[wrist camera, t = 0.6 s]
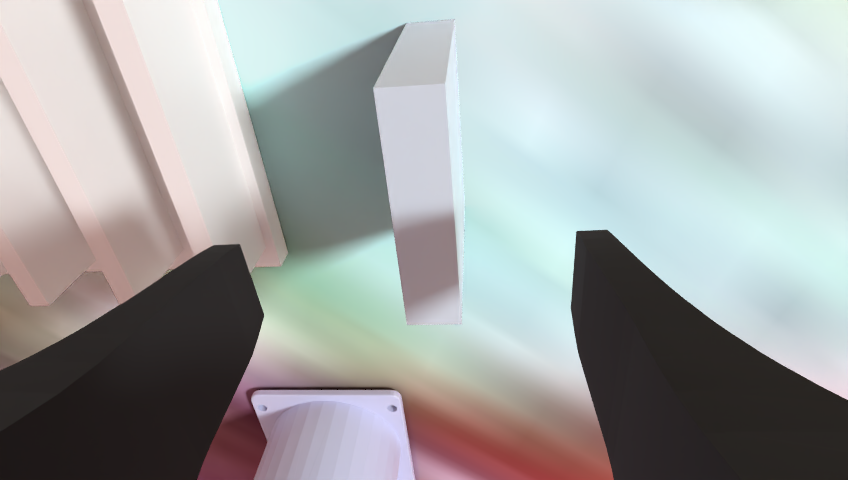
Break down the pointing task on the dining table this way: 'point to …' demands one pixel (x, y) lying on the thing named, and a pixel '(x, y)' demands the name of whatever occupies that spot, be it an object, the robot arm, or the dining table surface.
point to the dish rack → (124, 145)
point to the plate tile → (425, 169)
